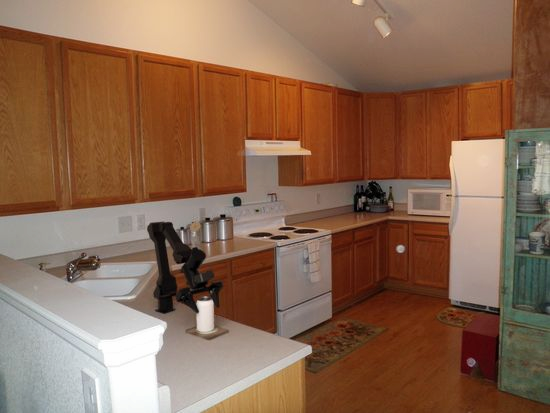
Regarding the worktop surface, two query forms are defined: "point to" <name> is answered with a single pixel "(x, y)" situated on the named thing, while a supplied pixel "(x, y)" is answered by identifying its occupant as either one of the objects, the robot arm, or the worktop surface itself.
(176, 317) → the worktop surface
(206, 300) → the can
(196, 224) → the flower in vase
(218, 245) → the worktop surface
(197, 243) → the salt shaker
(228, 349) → the worktop surface
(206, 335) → the coaster board
